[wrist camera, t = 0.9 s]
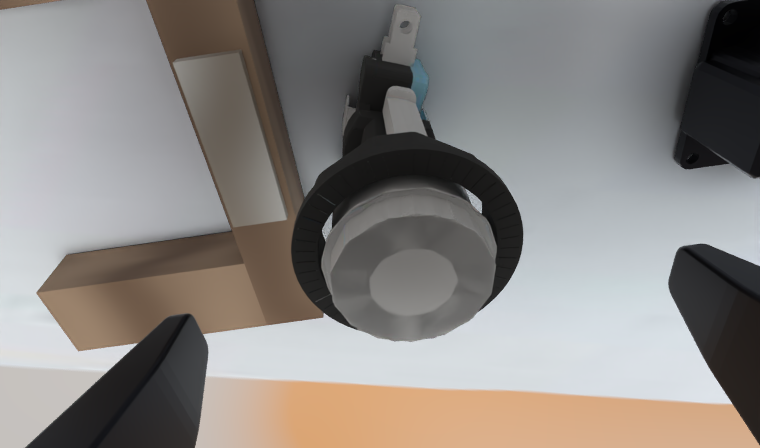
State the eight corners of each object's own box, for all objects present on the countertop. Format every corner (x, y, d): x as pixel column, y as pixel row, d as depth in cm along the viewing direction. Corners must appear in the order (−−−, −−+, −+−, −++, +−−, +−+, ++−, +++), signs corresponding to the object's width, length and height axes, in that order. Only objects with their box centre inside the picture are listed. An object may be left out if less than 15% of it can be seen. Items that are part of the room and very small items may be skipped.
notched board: (209, -175, 13) (179, -193, 11) (325, 280, 23) (322, 324, 20) (-169, -115, 14) (-279, -119, 11) (102, 311, 23) (74, 358, 21)
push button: (329, -14, 16) (313, 74, 8) (480, 20, 17) (614, 132, 8) (305, 163, 19) (275, 356, 11) (429, 183, 20) (489, 375, 12)
